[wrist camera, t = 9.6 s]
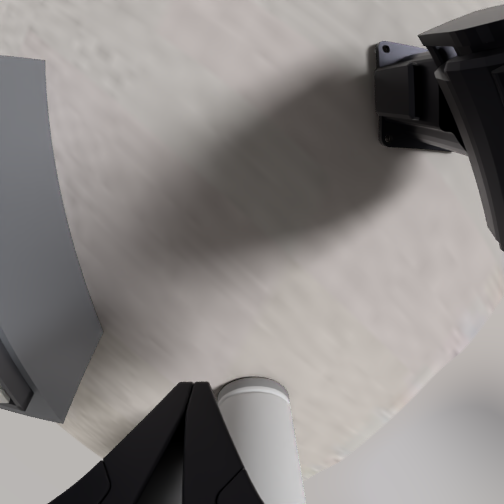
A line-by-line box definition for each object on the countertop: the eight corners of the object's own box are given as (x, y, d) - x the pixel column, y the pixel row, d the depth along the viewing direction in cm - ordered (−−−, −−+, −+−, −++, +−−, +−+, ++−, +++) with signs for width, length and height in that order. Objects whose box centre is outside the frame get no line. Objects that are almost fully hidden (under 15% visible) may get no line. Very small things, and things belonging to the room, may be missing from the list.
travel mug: (203, 405, 26) (195, 615, 8) (242, 365, 24) (255, 624, 6) (259, 424, 28) (275, 612, 10) (302, 389, 26) (344, 607, 8)
